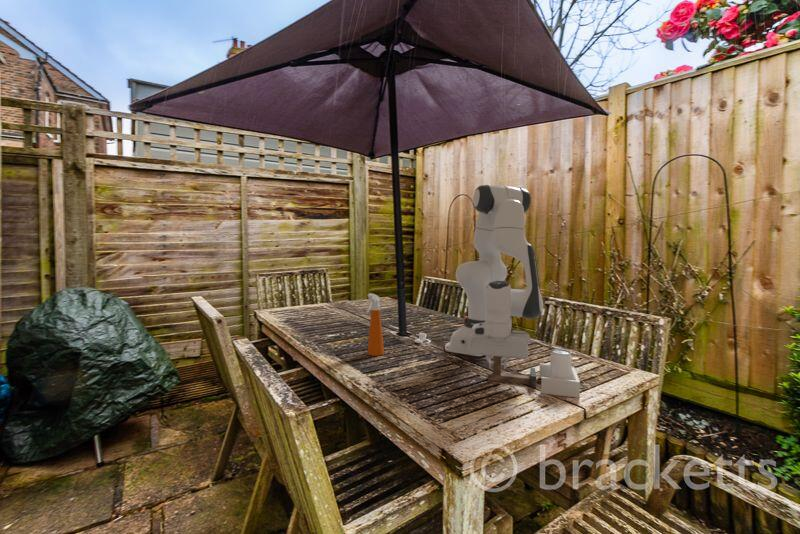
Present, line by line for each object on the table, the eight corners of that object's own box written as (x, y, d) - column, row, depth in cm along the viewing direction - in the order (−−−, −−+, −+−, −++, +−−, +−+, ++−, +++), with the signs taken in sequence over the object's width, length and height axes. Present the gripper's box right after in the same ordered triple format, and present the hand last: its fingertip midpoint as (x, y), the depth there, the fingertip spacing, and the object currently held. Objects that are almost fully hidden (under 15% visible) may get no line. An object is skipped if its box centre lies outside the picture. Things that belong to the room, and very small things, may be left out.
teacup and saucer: (417, 345, 169) (417, 336, 169) (409, 341, 177) (409, 332, 176) (433, 343, 173) (434, 334, 172) (426, 338, 180) (426, 330, 180)
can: (560, 392, 117) (562, 355, 116) (545, 385, 123) (546, 350, 122) (575, 389, 120) (576, 353, 119) (559, 382, 126) (560, 347, 125)
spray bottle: (359, 357, 152) (358, 293, 150) (372, 349, 162) (372, 290, 159) (374, 359, 149) (374, 295, 147) (387, 352, 159) (386, 291, 156)
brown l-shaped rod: (487, 382, 125) (487, 356, 124) (488, 374, 133) (489, 349, 132) (535, 388, 121) (536, 361, 120) (534, 379, 128) (535, 354, 127)
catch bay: (541, 393, 117) (541, 377, 117) (539, 377, 130) (539, 363, 130) (579, 397, 114) (580, 382, 113) (573, 380, 127) (574, 366, 126)
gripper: (529, 328, 126) (528, 368, 128) (469, 324, 133) (468, 362, 134) (530, 333, 120) (529, 374, 122) (467, 328, 127) (466, 368, 128)
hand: (497, 368), depth 128 cm, fingers closed on brown l-shaped rod, 2 cm apart
